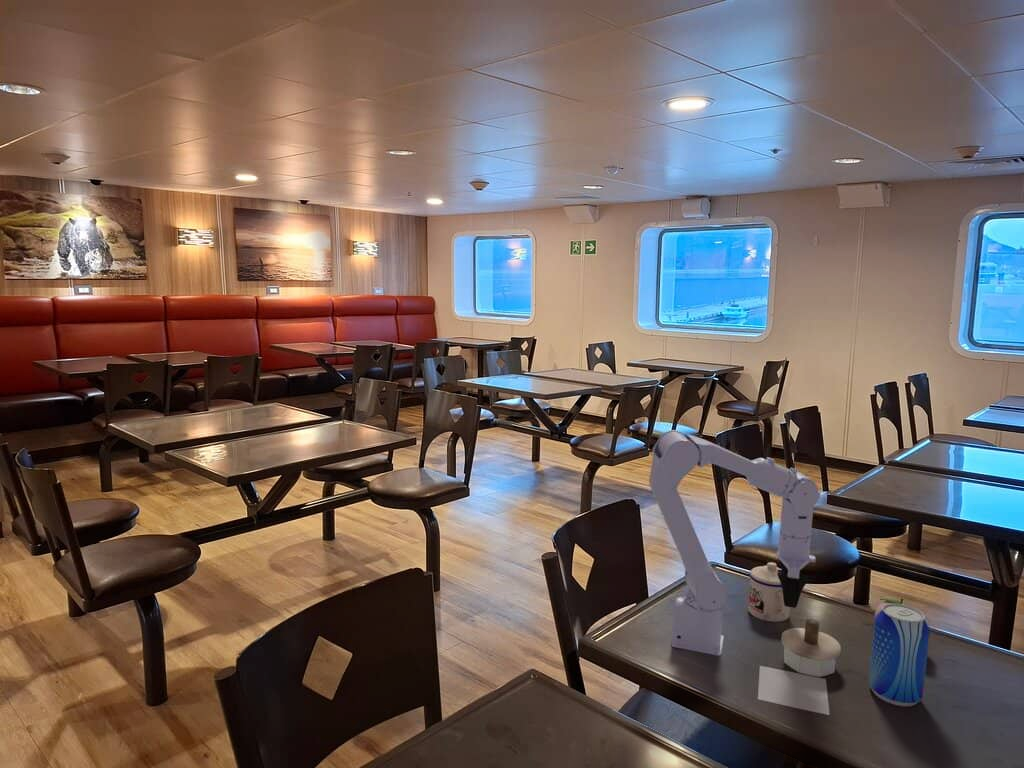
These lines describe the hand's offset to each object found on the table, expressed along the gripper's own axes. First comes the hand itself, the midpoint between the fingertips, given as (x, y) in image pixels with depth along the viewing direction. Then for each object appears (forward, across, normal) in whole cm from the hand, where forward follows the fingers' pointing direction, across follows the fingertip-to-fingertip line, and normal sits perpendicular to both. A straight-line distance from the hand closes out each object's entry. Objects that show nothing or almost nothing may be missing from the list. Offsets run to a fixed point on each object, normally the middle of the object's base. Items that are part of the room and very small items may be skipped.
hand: (790, 598), depth 138 cm
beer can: (+10, -11, -18) cm, 24 cm away
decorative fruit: (+10, +9, -21) cm, 25 cm away
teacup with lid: (+10, +12, +3) cm, 16 cm away
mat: (+10, -16, -1) cm, 19 cm away
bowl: (+10, -6, -4) cm, 12 cm away
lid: (+6, -6, -4) cm, 10 cm away
